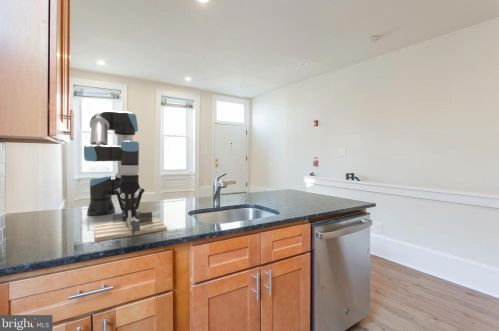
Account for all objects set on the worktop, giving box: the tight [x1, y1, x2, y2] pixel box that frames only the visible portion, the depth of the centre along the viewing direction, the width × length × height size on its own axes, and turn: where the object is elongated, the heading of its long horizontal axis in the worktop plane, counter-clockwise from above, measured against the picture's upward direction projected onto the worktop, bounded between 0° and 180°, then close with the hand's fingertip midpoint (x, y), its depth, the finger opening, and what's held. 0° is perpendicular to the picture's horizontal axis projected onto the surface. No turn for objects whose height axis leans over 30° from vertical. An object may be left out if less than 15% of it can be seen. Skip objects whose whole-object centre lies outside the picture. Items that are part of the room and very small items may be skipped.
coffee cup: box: [120, 192, 138, 222], centre depth 140 cm, size 10×10×15 cm
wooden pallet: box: [94, 210, 168, 242], centre depth 122 cm, size 21×30×6 cm
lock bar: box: [125, 217, 140, 232], centre depth 119 cm, size 14×4×5 cm, turn 38°
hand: (129, 224), depth 114 cm, fingers closed
